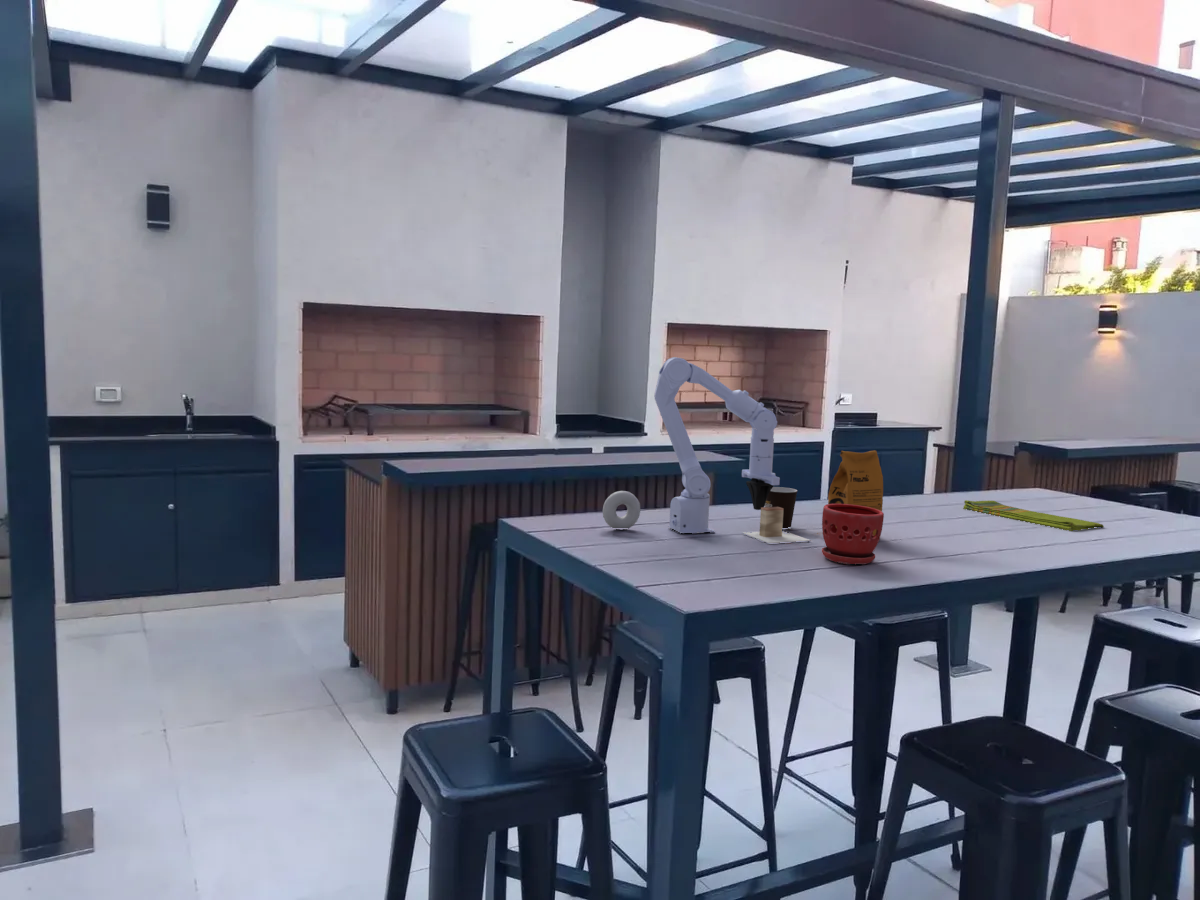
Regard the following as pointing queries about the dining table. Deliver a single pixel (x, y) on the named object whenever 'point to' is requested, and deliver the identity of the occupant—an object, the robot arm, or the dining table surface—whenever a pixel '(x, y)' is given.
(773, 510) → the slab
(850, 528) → the plant pot
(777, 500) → the coffee mug
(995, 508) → the dish towel
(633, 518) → the donut
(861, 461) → the coffee package
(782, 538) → the mat
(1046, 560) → the dining table surface
